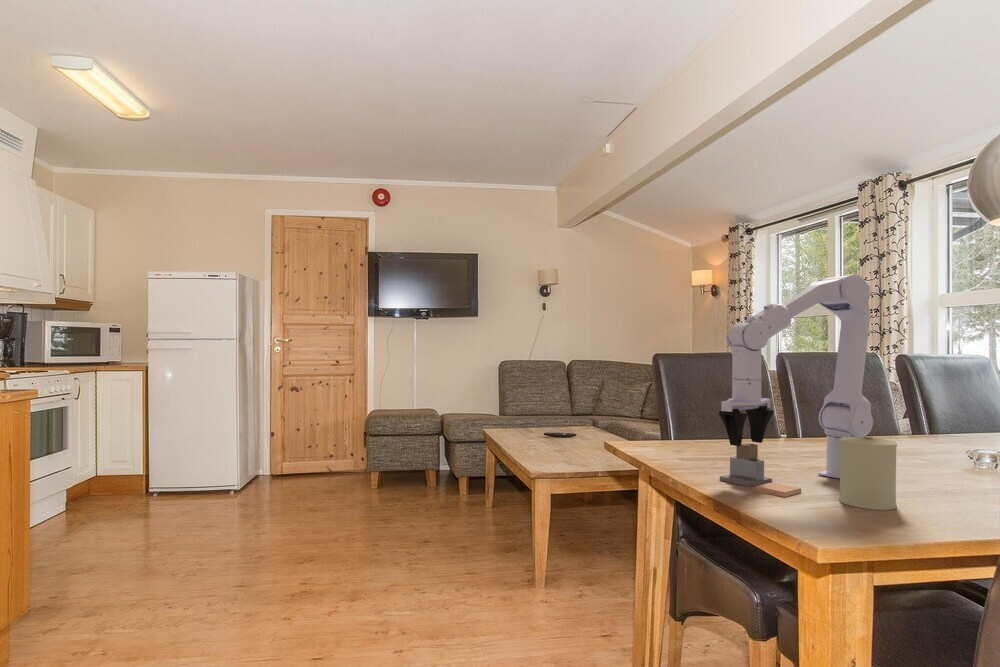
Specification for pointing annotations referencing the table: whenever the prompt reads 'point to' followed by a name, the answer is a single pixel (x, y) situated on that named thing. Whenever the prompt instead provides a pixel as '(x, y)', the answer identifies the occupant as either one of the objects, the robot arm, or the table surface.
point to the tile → (778, 489)
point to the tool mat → (744, 481)
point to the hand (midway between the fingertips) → (746, 443)
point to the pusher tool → (747, 463)
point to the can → (868, 473)
